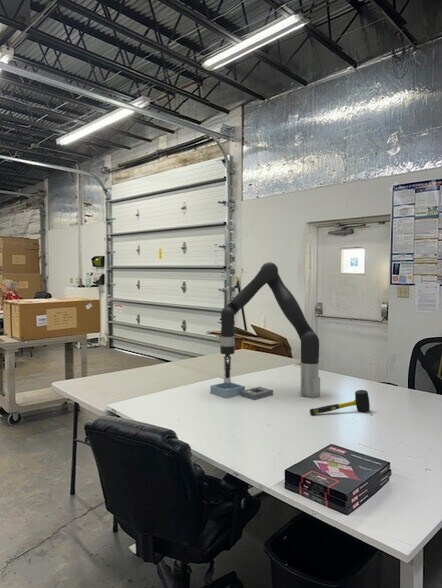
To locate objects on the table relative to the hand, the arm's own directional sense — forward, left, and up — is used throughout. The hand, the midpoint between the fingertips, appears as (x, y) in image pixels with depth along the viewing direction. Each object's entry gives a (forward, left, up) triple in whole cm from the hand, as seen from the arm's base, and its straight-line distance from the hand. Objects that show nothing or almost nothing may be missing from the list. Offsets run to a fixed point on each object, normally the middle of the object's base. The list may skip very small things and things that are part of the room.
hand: (227, 376), depth 219 cm
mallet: (-58, -17, -9) cm, 61 cm away
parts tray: (0, 0, -9) cm, 9 cm away
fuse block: (-13, -9, -9) cm, 18 cm away
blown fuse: (0, 0, -3) cm, 3 cm away
